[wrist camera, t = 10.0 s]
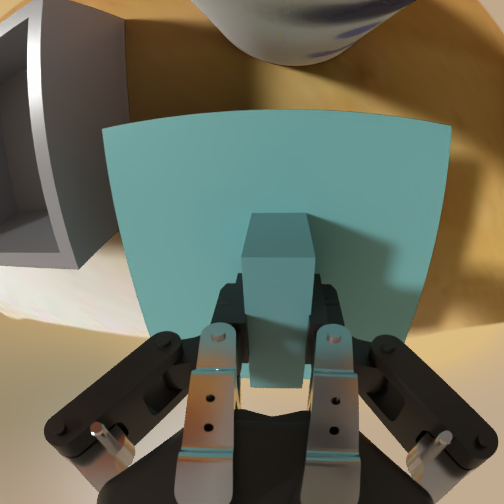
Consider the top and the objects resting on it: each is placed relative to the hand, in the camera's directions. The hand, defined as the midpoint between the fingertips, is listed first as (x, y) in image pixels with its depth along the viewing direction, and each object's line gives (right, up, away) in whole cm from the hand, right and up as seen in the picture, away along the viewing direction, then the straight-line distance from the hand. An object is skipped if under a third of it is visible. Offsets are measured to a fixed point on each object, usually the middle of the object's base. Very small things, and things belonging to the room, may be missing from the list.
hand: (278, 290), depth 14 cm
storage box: (-17, +12, +5) cm, 22 cm away
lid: (0, +1, +3) cm, 3 cm away
